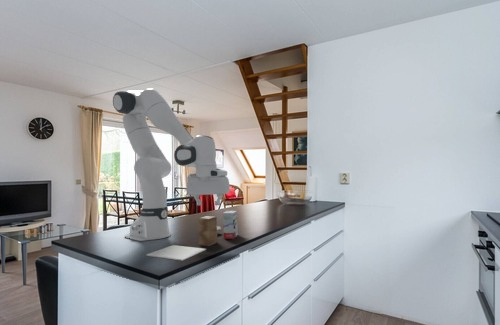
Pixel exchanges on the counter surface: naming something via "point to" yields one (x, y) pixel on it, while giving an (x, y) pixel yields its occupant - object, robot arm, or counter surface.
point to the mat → (176, 252)
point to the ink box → (230, 224)
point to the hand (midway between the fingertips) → (208, 205)
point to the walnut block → (207, 230)
